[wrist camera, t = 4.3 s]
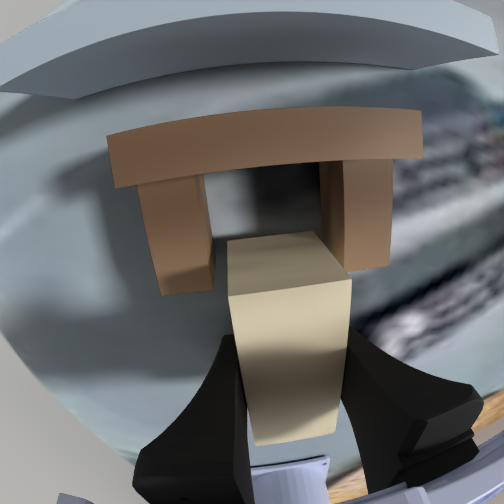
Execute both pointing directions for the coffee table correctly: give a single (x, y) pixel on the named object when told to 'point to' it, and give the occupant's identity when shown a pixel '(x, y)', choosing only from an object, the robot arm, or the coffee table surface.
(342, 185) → the brown u-shaped bracket
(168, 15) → the backstop wall
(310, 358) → the cream wooden bar
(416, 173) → the coffee table surface
